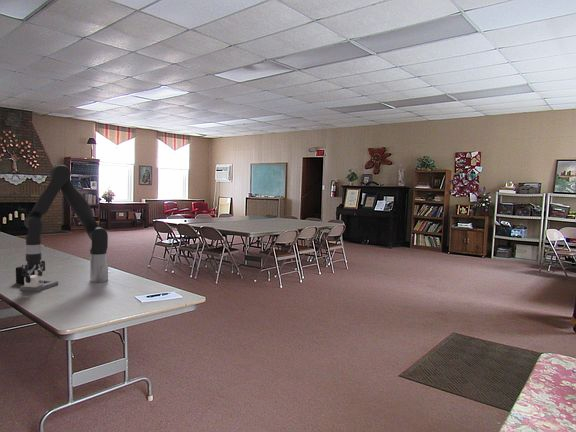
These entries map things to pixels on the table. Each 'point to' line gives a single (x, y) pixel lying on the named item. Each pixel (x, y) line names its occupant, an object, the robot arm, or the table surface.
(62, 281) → the table surface
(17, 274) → the electronic device
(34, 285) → the plug
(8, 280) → the table surface
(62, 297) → the table surface
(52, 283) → the socket plate
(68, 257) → the table surface
